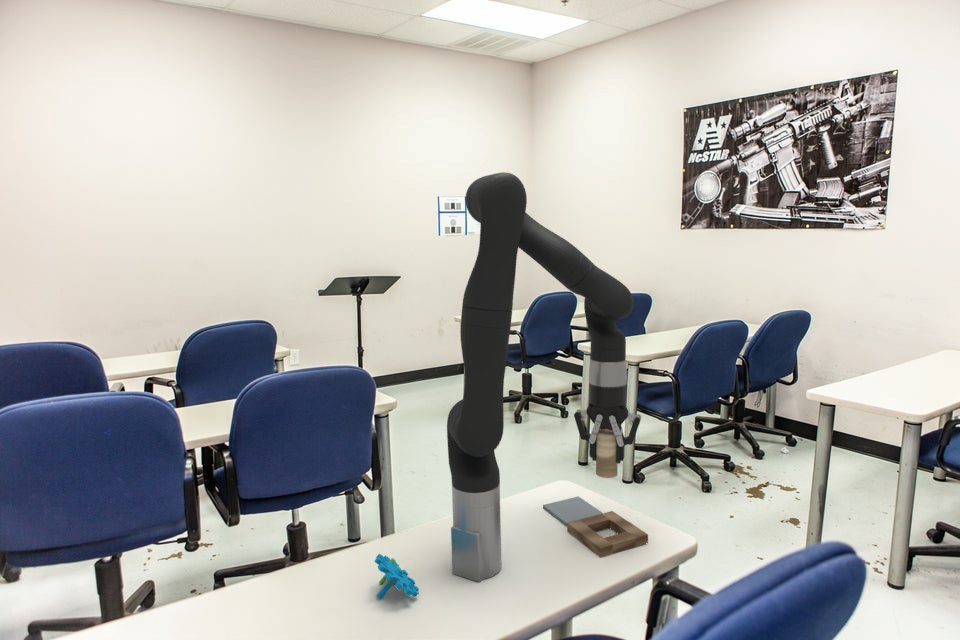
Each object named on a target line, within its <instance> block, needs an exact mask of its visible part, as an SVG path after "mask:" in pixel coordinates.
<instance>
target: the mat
mask: <svg viewBox="0 0 960 640" xmlns="http://www.w3.org/2000/svg"><path fill="white" fill-rule="evenodd" d="M542 509H544V511H546V512H547V513H549V514H550V515H551V516H552V517H553V518H555V519H556V520H557V521H559V522H560V523H562V524H563V525H564V526H565V527H567V523H568V522H572V521H576V520H579V519H583V518H587V517H591V516H595V515H599V514H603V513H604V512H602V511H600V510H599V509H598V508H596V507H595V506H594V505H592V504H590V503H589V502H588V501H586V500H585V499H583V498H582V497H580V496H579V495H578V496H574V497H571V498H566V499H563V500H558V501H554V502H549V503H545V504H542Z"/></svg>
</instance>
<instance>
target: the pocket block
mask: <svg viewBox="0 0 960 640" xmlns="http://www.w3.org/2000/svg"><path fill="white" fill-rule="evenodd" d="M602 513H603V514H599V515H595V516H591V517H587V518H583V519H579V520H576V521H572V522H568V523H567V526H566V528H567V530H566V531H567V533H568V534H570V535H571V536H572V537H574V538H575V539H576V540H578V541H579V542H581V544H582V545H584V546H585V547H586V548H588V549H589V550H590V551H591V552H593V553H594V554H595V555H596V556H597V557H598V558H604V557H607V556H612V555H613V554H618V553H620V552H623V551H627V550H631V549H634V548H637V547H640V546H644V544H645V545H647V544H646V543H648V544H649V534H648V533H647V532H645V531H643V530H642V529H640V528H639V527H637V526H636V525H635V524H633V523H632V522H630V521H628V519H627V520H626V519H625V518H623V516H621V515H619V514H618V513H616V512H615V511H613V510H610V511H607V512H602ZM607 528H608V529H610V528H611V529H610V530H611V531H613V530H614V531H613V532H614V533H616V534H613V535H608V536H605V537H603V536H602V535H600V534H599V533H598V532H600V531H603V530H604V531H605V530H607ZM617 533H618V534H617Z"/></svg>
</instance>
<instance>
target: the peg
mask: <svg viewBox="0 0 960 640" xmlns="http://www.w3.org/2000/svg"><path fill="white" fill-rule="evenodd" d="M617 445H618V443H617V440H616V437H615V435H614V432H613V431H612V430H608V429H603V430H602V429H600V430H599V432H598V434H597V437H596V461H595V475H596V476H597V477H599V478H603V479H612V478H615V477H617V476H618V464H619V463H616V458H617Z"/></svg>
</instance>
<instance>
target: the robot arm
mask: <svg viewBox="0 0 960 640" xmlns="http://www.w3.org/2000/svg"><path fill="white" fill-rule="evenodd" d="M527 196H528V195H527V192H526V188H525V186H524V184H523V182H522V181H521V179H520V178H519V177H518V176H516V175H515V174H513V173H511V172H505V171H504V172H497V173H492V174H487V175H483V176H481V177H479V178H477V179H475V180H474V181H472V183H471V184H470V185H469V186H468V188H467V190H466V193H465V198H464V199H465V206H466V209H467V211H468V213H469V215H470V216H471V218H473V220H475V221H476V222H478V223H479V224H480V228H479V229H480V232H479V244H478V245H479V246H478V252H477V256H476V259H475V261H474V265H473V267H472V270H471V273H470V275H469V278H468V281H467V284H466V286H465V290H464V292H463V298H462V303H461V304H462V305H461V306H462V307H461V314H460V316H461V317H460V326H459V327H460V331H459V333H460V344H461V345H460V347H461V355H462V361H463V369H464V370H463V371H464V390H463V397H462V399H461V400H458V401H457V402H456V403H455V404H454V405H453V406H452V407H451V409H450V410H449V413H448V416H447V421H446V437H447V439H446V440H447V453H448V455H447V456H448V465H449V470H450V476H451V493H452V494H451V498H452V499H451V500H452V526H451V527H450V535H451V536H450V540H451V542H450V543H451V544H450V545H451V565H452V566H451V568H452V569H451V570H452V571H451V573H452V574H453V575H456V576H460V577H463V578H466V579H468V580H470V581H471V580H472V581H475V582H478V583H479V582H481V581H483V580H484V579H488V578H491V577H493V576H496V575H497V574H498V573H499V572H500V571H501V570H502V567H503V566H502V533H501V532H502V528H501V527H502V526H501V487H500V486H501V477H500V475H501V474H500V468H499V464H498V461H497V458H496V454H495V450H496V449H497V447H499V445H500V443H501V441H502V438H503V435H504V414H505V413H504V387H505V386H504V385H505V377H506V376H505V375H506V374H505V373H506V369H507V368H506V367H507V360H508V351H509V341H510V334H511V326H512V319H513V307H514V291H515V283H516V271H517V269H516V268H517V258H518V252H519V250H521V251H522V252H524V253H525V254H526V255H527V256H529V257H530V258H531V259H532V260H533V261H535V262H536V263H537V264H538V265H539V266H541V267H542V268H543V269H544V270H545V271H546V272H547V273H549V274H550V275H551V276H552V277H553V278H555V279H556V280H557V281H558V282H559V283H560V284H561V285H562V286H564V287H565V288H566V289H567V290H568V291H570V292H572V293H573V294H575V295H578V296H581V297H583V298H584V301H583V302H584V305H583V307H584V308H583V310H584V315H585V321H586V325H587V329H588V330H587V331H588V333H589V337H590V360H589V361H590V362H589V370H588V407H587V408H586V409H582V410H581V409H577V410H576V411H575V412H574V414H573V417H574V420H575V423H576V427H577V431H578V433H579V437H580V440H582V441H587V442H588V444H589V447H588V448H589V451H588V452H589V454H588V456H589V458H592V459H591V460H592V461H595V462H596V437H597V434H598V432H599V430H600V429H602V430H603V429H608V430H612V431H613V432H614V435H615V437H616V440H617V443H618V445H617V458H616V463H618V464H621V462H623V461H624V459H625V446H627V445H628V446H629V445H633V443H634V440H635V437H636V434H637V431H638V428H639V426H640V422H641V421H642V416H641V415H640V414H633V413H631V412H629V409H628V407H627V387H628V386H627V383H628V370H627V362H626V360H627V359H626V355H627V354H626V352H627V350H626V348H627V341H626V336H625V333H624V332H622V331H621V330H620V329H619V328H618V327H617V323H616V321H619V320H623V319H625V318H627V317H629V315H631V313H632V311H633V310H634V303H635V302H634V296H633V294H632V293H631V291H630V290H629V288H628V287H627V286H626V285H625V284H624V283H622V282H621V280H619V279H617V278H616V277H614V276H612V275H611V274H610V273H608V272H606V271H604V270H603V269H601V268H600V267H598V266H597V265H596V264H595V263H593V262H592V261H591V260H590V259H589V258H588V256H586V255H585V254H584V253H583V252H582V251H580V249H578V248H577V247H576V246H575V245H573V244H572V243H571V242H570V241H568V240H567V239H565V238H563V237H562V236H560V235H558V234H556V233H555V232H553V231H552V230H550V229H549V228H547V227H546V226H544V225H542V224H540V223H539V222H538V221H537V220H535V219H534V218H533V217H531V215H529V214H528V213H527V204H528V202H527V200H528V199H527ZM587 417H588V418H589V420H590V421H591V422H592V423H593V427H592V430H591V433H590V432H589V431H588V428H587V424H586V422H585V420H586V419H587ZM627 419H628V423H629V425H630V426H631V428H630V430H629V434H628V436H625V434H624V430H623V427H622V424H624V423H625V421H626V420H627Z"/></svg>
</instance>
